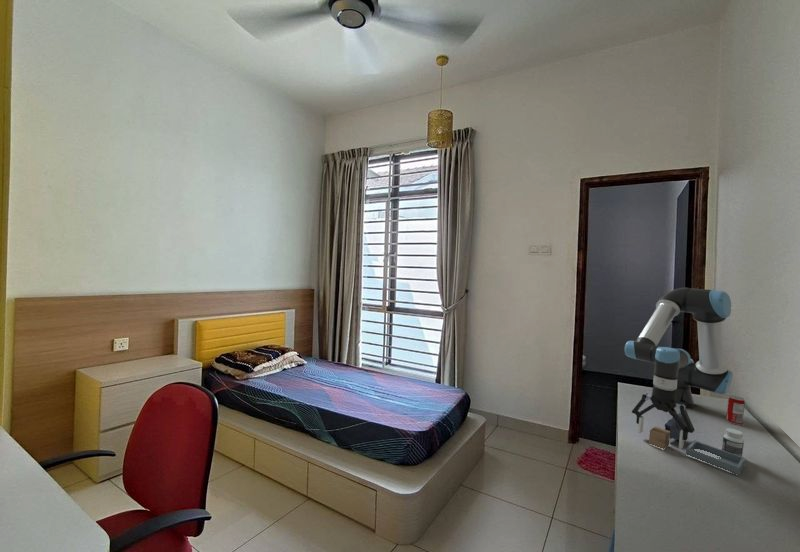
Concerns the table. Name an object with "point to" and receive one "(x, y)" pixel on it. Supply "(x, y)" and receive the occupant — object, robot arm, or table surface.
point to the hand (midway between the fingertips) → (659, 439)
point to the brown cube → (659, 437)
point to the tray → (726, 461)
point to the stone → (674, 428)
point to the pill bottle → (733, 442)
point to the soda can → (735, 410)
